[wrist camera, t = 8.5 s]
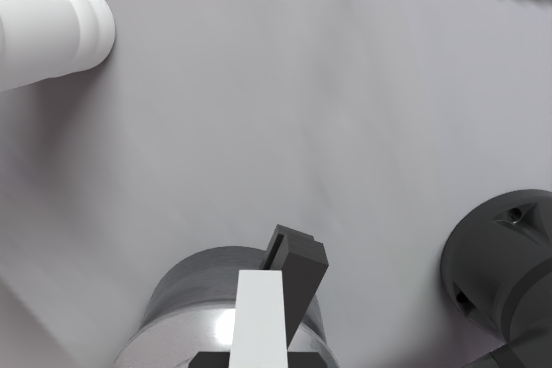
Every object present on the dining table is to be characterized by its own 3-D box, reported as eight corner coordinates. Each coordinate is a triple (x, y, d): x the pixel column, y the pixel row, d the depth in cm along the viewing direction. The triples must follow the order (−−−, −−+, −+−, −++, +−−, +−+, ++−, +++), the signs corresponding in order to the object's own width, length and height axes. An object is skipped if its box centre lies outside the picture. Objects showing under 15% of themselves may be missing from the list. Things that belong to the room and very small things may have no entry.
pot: (279, 419, 51) (283, 508, 42) (121, 376, 48) (87, 461, 39) (378, 225, 43) (410, 281, 34) (195, 160, 40) (174, 202, 31)
